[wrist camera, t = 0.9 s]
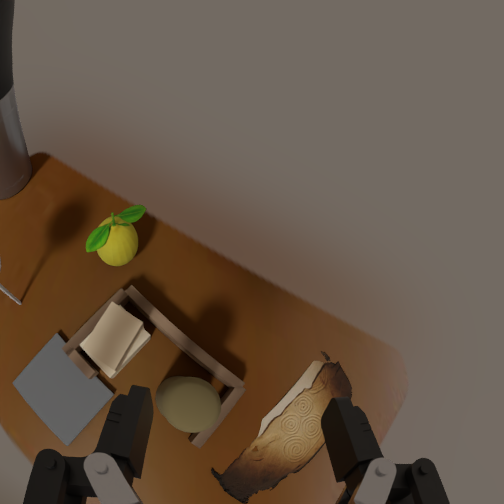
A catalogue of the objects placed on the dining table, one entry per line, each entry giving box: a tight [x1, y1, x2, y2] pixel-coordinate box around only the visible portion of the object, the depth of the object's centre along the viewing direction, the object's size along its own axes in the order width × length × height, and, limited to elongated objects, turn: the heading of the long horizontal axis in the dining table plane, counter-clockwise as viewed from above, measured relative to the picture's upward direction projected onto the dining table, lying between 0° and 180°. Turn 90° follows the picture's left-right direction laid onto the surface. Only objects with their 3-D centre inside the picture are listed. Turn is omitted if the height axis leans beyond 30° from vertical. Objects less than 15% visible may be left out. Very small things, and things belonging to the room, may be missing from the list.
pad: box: [13, 333, 114, 446], centre depth 23 cm, size 10×10×1 cm
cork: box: [155, 376, 221, 433], centre depth 24 cm, size 6×6×11 cm
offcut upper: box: [82, 302, 144, 372], centre depth 25 cm, size 4×6×3 cm, turn 155°
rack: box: [61, 285, 246, 448], centre depth 27 cm, size 19×12×2 cm, turn 53°
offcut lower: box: [80, 305, 150, 378], centre depth 28 cm, size 5×7×3 cm
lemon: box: [86, 205, 146, 266], centre depth 30 cm, size 7×6×10 cm
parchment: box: [211, 351, 352, 504], centre depth 30 cm, size 25×10×1 cm, turn 134°
